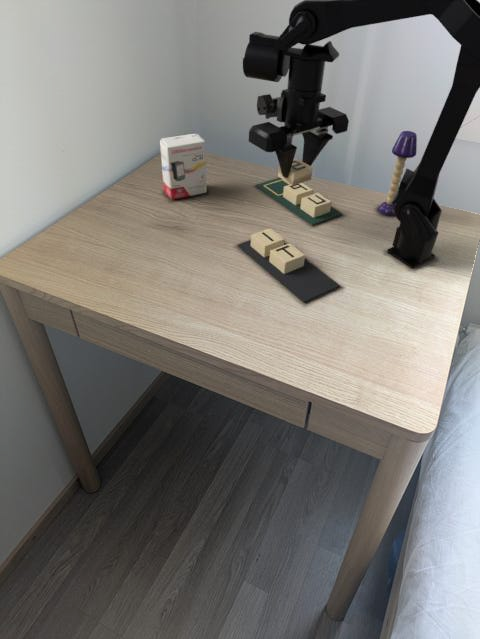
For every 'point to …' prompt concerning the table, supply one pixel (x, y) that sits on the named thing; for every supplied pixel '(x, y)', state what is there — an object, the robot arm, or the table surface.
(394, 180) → the toy lamp
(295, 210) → the far word mat
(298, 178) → the tile
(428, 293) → the table surface
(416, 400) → the table surface
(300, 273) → the near word mat
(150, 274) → the table surface
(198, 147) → the ink box
